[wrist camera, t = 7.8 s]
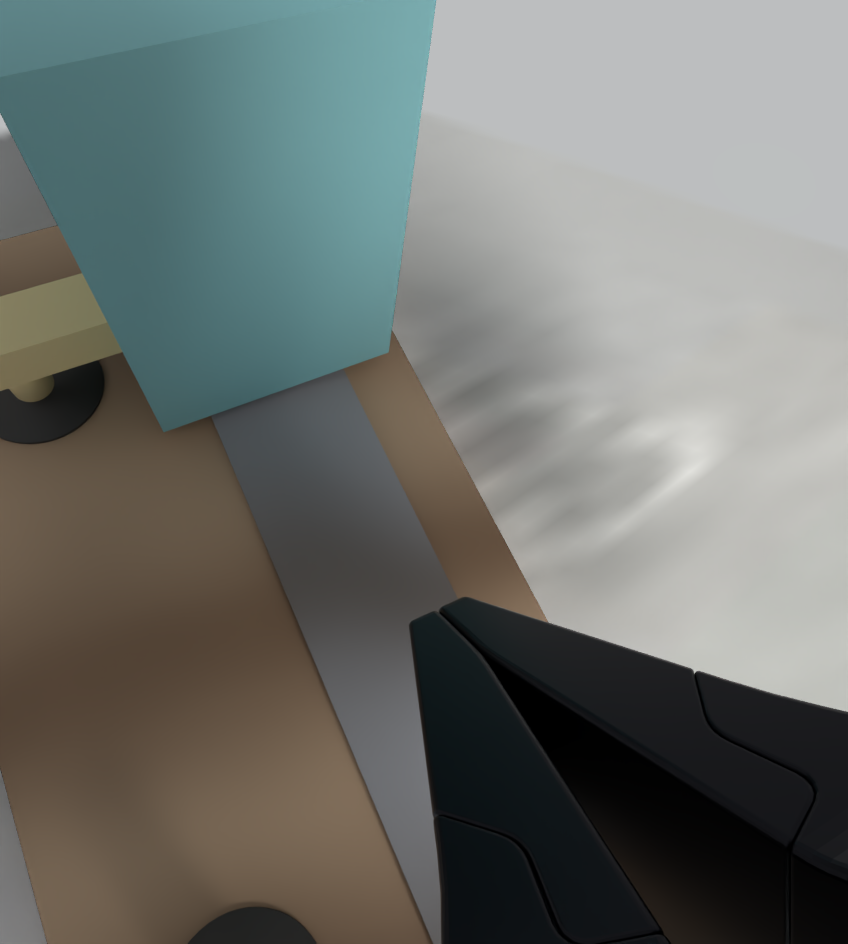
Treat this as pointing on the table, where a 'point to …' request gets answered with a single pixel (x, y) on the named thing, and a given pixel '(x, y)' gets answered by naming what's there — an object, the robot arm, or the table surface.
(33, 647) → the board
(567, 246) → the table surface
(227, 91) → the block
